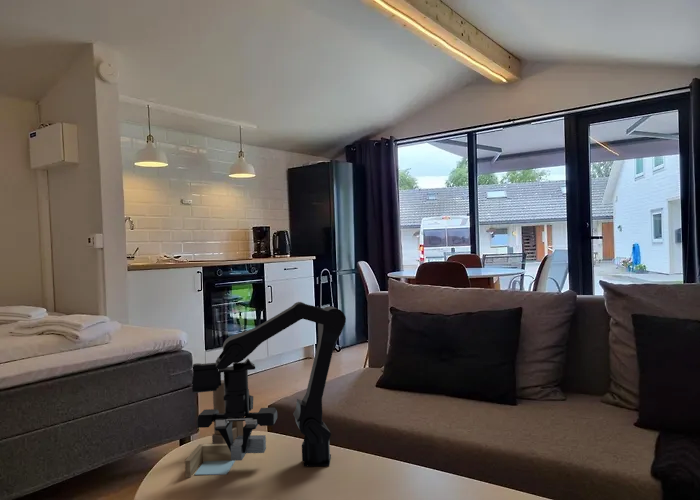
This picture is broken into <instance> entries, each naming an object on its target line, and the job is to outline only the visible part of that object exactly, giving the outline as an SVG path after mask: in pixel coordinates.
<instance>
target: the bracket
mask: <svg viewBox="0 0 700 500" xmlns="http://www.w3.org/2000/svg"><path fill="white" fill-rule="evenodd" d="M266 437H267V436H266V434H263V435H261V434H260V435H258V434H257V435H252V434H251V435H250V439H249V442H248V446H247V449H246V452H245V453H243V436H238V437H237V438H236V439H235V441H234V442H233V443H232V445H231V461H235V462H236V461H243V460H244V457H245V456H246V455H247V454H264V453H265V452H266V450H267V443H266V442H267V438H266Z"/></svg>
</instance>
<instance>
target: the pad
mask: <svg viewBox="0 0 700 500" xmlns="http://www.w3.org/2000/svg"><path fill="white" fill-rule="evenodd" d="M235 462H236V461H231V460H227V461H203V462H202V463H201V464H200V466H199V467H198V468H197V470H196V471H195V472H194V474H193V476H206V475H207V476H210V475H211V476H212V475H214V476H215V475H216V476H218V475H228V473H229V472H230V470H231V469H232V467H233V466H234V464H235Z"/></svg>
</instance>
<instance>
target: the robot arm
mask: <svg viewBox="0 0 700 500" xmlns="http://www.w3.org/2000/svg"><path fill="white" fill-rule="evenodd" d="M300 320H306V321H309V322H312V323H313V322H314V323H317V335H318V338H317V339H318V342H317V345H316V349H315V354H314V357H313V358H314V359H313V361H312V367H311V371H310V376H309V379H308V384H307V389H306V393H305V394H304V396H303V398H302V399H299V398H296V406H295V407H296V408H295V409H294V411H293V414H292V415H293V416H294V419H295V423H296V425H297V428H298V429H299V432H301V434H303V436H304V437H303V441H302V443H301V461H302V462H303V467H327V466H328V467H329V466H330V464H331V459H332V454H331V449H330V447H331V446H330V438H331V435H332V433H331V431H330V430H329V428H328V426H327V425H326V423H325V422H324V421H323V396H324V391H325V387H326V383H327V380H328V379H327V378H328V375H329V369H330V366H331V361H332V356H333V353H334V348H335V345H336V343H337V341H338V339H339V338H340V336H341V335H342V332H343V330H344V328H345V325H346V320H347V319H346V315H345V313H344V312H343V311H342V310H341V309H339V308H337V307H334V306H325V307H323V308H322V307H319V306H316V305H311V304H307V303H304V302H302V301H297V302H295V303H294V304H293V305H291V306H290V307H288V308H287V309H284V310H283V311H281V312H280V313H278V314H276V315H274V316H273V317H271V318H269V319H268V320H266V321H264V322H263V323H261V324H259V325H257V326H255V327H254V328H252V329H249V330H248V329H247V330H245V331H244V330H243V331H241V332H238V333H236V334H233V335H231V336H229V337H227V338H226V339H225V340H224V342H223V345H222V352H221V353H220V354H219V355H218V357H217V359H216V360H215V362H208V363H193V364H192V379H191V388H192V389H191V390H192V394H197V393H199V394H200V393H209V392H213V391H217V388H219V386H221V380H222V373H223V380H224V394H225V395H224V400H225V413H220V414H219V411H218V409H214V408H211V409H207V408H206V409H203V411H201V412H200V413H199V414H198V415H197V416H196V419H195V423H196V428H197V429H200V428H201V429H202V428H203V429H204V428H206V429H207V428H210V427H211V425H212V424H213V423H214V422H216V427H215V430H216V431H219V432H220V434H221V435H222V437H223V438H224V440H225V442H226V444H227V446H228V448H229V450H230V452H231V445H232V443H233V433H232V421H243V422H244V423H245V425H243V453H245V452H246V449H247V446H248V442H249V439H250V435H252V431H253V430H256V429H257V427H258V426H261V427H267V426H268V427H269V426H270V427H271V426H274V425H275V423H276V421H277V419H278V411H277V408H275V407H261V408H260V409H259V410H258V412H251V411H252V410H253V409H254V396H253V395H250V389H249V375H248V373H249V372H248V371H251V370H255V369H256V365H255V363H254V362H252V361H251V360H250V359H249V358H247V357H248V356H250V355H251V354H252V353H253V352H254V351H255V350H256V349H257V348H258V347H259V346H260V345H261V344H263V343H264V342H266V341H267V340H269V339H271V338H273V337H274V336H275V335H277V334H279V333H281V332H282V331H284V330H286V329H287V328H289V327H290V326H291V327H292V326H293V325H294V324H296V323H297V322H299V321H300ZM245 359H246V360H245ZM242 361H243V362H242ZM231 365H232V366H231ZM229 417H232V418H229Z"/></svg>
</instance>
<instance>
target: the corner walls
mask: <svg viewBox="0 0 700 500" xmlns="http://www.w3.org/2000/svg"><path fill="white" fill-rule="evenodd" d="M227 460H231V452H230V450H229V448H228V446H227V444H212V443H205V444H204V443H199V444H198V445H197V446H196V447H195V448H194V450H193V451H191V453H190V454H189V456H188V457H187V458H186V459H185V460H184V464H185V465H184V467H185V468H184V469H185V478H191V477H193V476H194V474H195V473H196V471H197V470H198V469H199V467H200V466H201V465H202V464H203V462H204V461H227Z"/></svg>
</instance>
